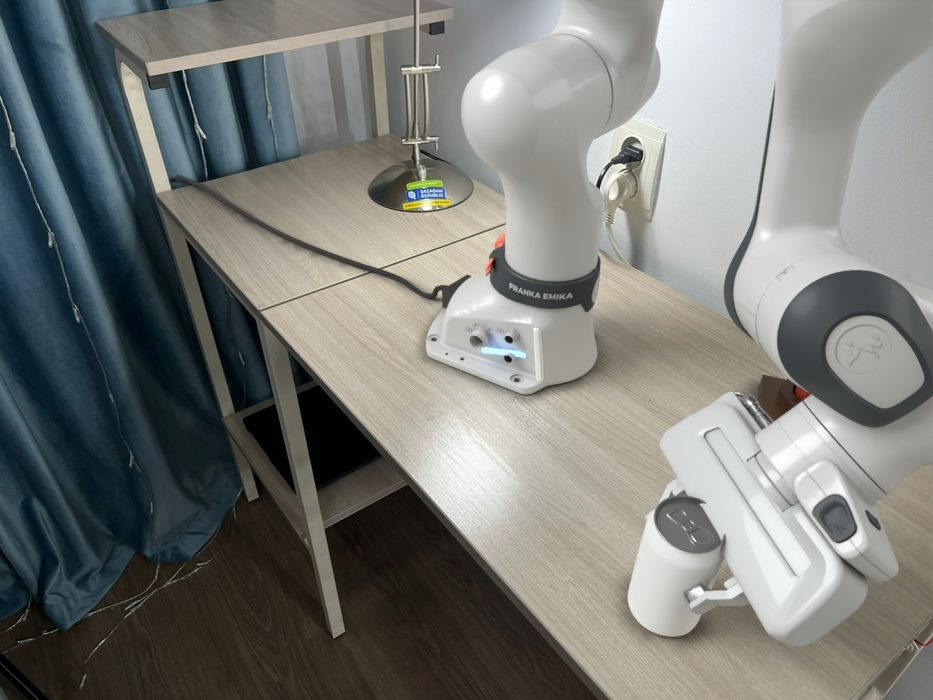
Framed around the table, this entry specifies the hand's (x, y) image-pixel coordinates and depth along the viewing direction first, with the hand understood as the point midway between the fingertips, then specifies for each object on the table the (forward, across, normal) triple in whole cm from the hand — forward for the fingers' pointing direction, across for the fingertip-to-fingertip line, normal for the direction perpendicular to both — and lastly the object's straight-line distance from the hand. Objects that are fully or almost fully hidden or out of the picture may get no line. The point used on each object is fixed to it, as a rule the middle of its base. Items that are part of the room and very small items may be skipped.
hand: (670, 564), depth 58 cm
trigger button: (-17, -19, +21) cm, 33 cm away
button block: (-14, -19, +24) cm, 33 cm away
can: (+4, 0, +5) cm, 7 cm away
